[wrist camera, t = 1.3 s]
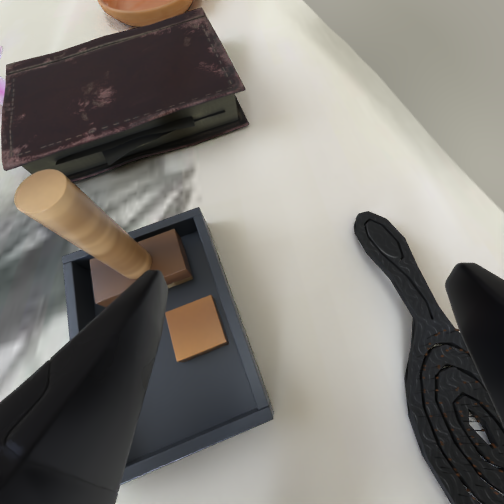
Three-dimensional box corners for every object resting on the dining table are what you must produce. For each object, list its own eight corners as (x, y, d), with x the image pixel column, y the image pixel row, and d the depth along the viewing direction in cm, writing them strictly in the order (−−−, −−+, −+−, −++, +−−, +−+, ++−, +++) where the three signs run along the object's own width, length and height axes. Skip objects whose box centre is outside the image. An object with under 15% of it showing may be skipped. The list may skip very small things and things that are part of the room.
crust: (229, 343, 22) (226, 342, 21) (182, 362, 22) (176, 362, 21) (214, 298, 24) (211, 294, 23) (170, 315, 24) (164, 312, 22)
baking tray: (274, 412, 20) (273, 419, 18) (110, 482, 20) (83, 501, 17) (206, 223, 28) (198, 206, 25) (83, 268, 27) (61, 256, 24)
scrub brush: (196, 280, 25) (121, 195, 13) (115, 311, 24) (-42, 252, 12) (185, 243, 26) (109, 137, 14) (108, 271, 26) (-35, 185, 14)
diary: (36, 96, 38) (3, 58, 33) (208, 44, 39) (199, 0, 35) (39, 201, 30) (-3, 171, 26) (251, 131, 32) (247, 91, 27)
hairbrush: (413, 185, 24) (703, 586, 13) (397, 210, 27) (616, 545, 16) (323, 212, 24) (537, 646, 12) (318, 233, 27) (484, 592, 16)
